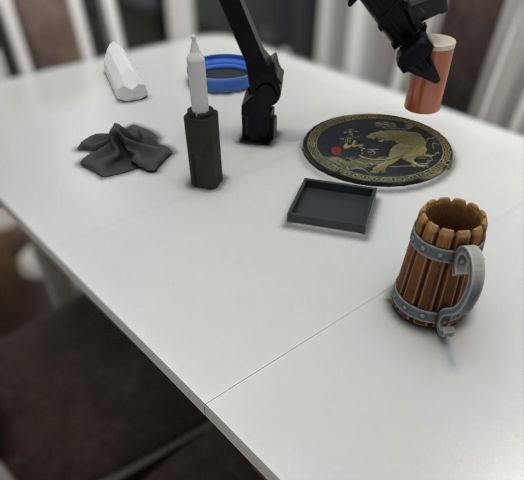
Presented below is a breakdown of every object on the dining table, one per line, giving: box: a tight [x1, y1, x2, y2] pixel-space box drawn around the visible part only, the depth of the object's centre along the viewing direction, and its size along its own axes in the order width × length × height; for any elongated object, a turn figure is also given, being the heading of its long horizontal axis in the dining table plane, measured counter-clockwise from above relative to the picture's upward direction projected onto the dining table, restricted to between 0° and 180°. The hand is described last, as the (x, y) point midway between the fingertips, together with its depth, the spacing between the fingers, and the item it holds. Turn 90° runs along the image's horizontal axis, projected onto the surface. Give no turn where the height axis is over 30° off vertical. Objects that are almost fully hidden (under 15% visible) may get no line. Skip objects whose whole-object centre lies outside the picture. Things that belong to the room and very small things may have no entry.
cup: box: [403, 33, 457, 115], centre depth 100 cm, size 7×7×12 cm
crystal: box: [103, 41, 149, 102], centre depth 131 cm, size 7×7×24 cm
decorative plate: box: [302, 112, 454, 188], centre depth 107 cm, size 30×2×30 cm
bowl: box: [186, 53, 249, 93], centre depth 133 cm, size 18×18×4 cm
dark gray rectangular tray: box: [286, 177, 378, 234], centre depth 92 cm, size 13×12×2 cm
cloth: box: [77, 122, 173, 177], centre depth 107 cm, size 22×19×6 cm
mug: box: [391, 196, 489, 338], centre depth 69 cm, size 16×11×15 cm
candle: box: [183, 33, 224, 190], centre depth 91 cm, size 5×5×25 cm
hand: (436, 74), depth 100 cm, fingers closed on cup, 7 cm apart
